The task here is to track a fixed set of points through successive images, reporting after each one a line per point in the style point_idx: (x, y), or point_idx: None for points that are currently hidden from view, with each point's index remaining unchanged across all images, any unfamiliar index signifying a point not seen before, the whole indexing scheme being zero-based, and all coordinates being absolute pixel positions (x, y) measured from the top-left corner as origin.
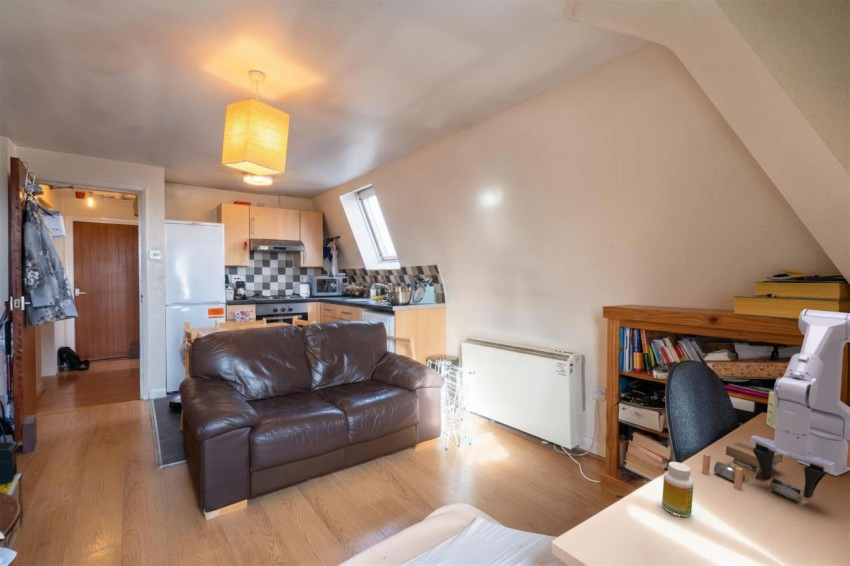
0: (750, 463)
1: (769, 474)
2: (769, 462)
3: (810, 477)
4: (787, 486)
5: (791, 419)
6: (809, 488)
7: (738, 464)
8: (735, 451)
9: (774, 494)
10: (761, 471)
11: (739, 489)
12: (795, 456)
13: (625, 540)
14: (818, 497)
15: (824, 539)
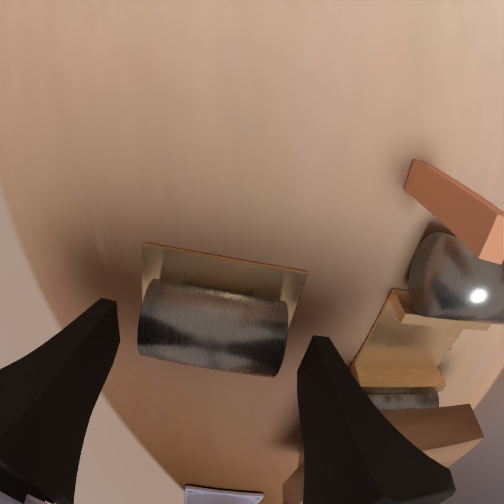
0: (391, 415)
1: (305, 385)
2: (319, 455)
3: (5, 386)
4: (199, 337)
5: None
6: (60, 333)
7: (420, 393)
8: (454, 435)
9: (259, 278)
10: (349, 371)
11: (413, 168)
12: None
13: None
14: (150, 389)
15: (11, 23)
